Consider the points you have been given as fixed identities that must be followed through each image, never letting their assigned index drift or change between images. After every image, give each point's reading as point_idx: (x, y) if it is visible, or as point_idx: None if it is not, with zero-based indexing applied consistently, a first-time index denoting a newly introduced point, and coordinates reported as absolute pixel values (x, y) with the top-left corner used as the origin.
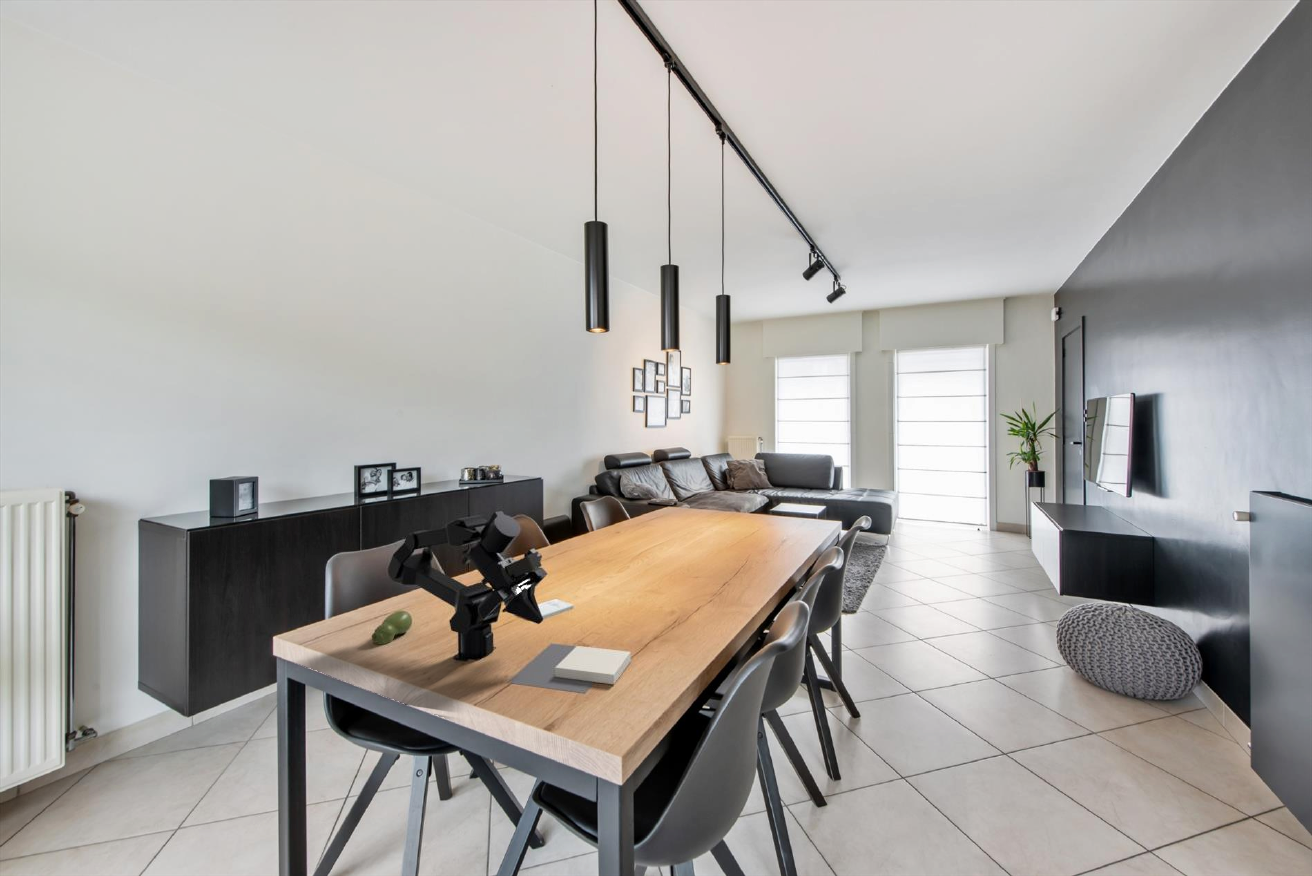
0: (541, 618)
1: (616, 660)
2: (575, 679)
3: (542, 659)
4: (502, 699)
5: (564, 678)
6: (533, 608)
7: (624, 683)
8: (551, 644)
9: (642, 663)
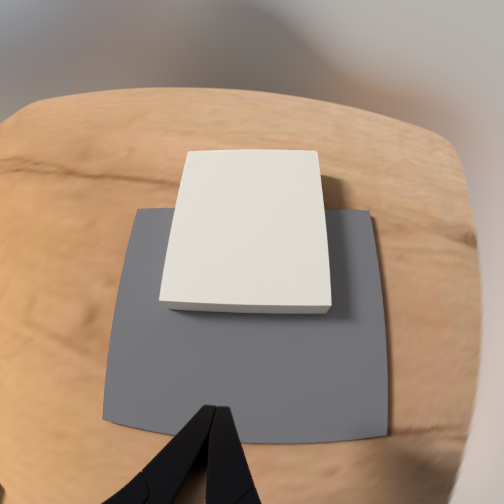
0: (215, 412)
1: (242, 164)
2: None
3: None
4: (440, 396)
5: None
6: (223, 476)
7: None
8: (109, 417)
9: None
